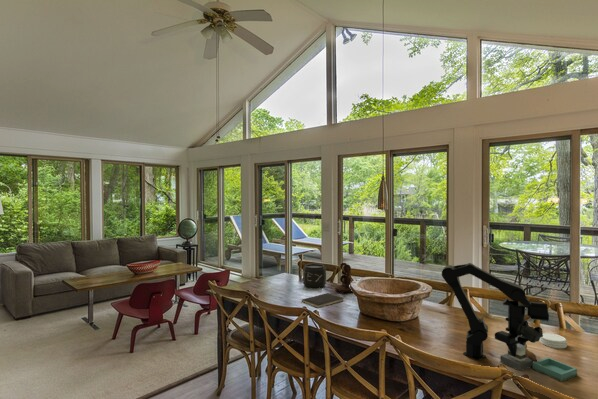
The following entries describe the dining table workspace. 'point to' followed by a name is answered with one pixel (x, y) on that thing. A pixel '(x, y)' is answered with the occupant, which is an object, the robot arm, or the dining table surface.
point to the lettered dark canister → (314, 276)
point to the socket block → (516, 362)
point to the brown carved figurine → (344, 278)
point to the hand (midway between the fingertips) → (516, 355)
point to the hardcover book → (322, 300)
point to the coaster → (553, 340)
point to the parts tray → (555, 369)
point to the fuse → (518, 353)
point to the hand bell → (530, 354)
